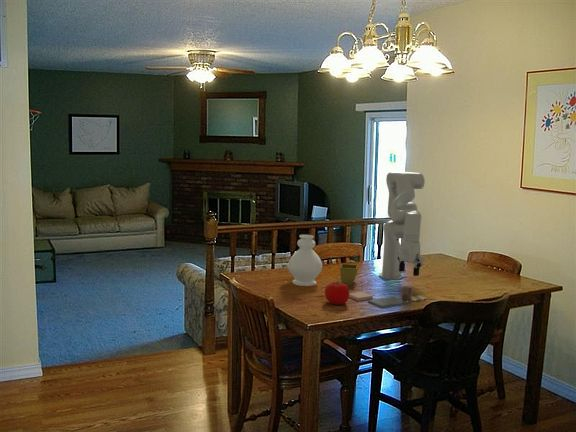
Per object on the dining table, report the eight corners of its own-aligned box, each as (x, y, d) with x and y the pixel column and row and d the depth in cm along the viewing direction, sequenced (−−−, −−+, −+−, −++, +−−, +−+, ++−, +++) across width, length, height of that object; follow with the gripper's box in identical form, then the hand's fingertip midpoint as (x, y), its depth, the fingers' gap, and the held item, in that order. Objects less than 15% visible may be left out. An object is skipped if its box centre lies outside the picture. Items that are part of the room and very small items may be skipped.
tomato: (354, 305, 290) (355, 283, 288) (335, 308, 283) (336, 286, 282) (337, 298, 299) (339, 277, 298) (319, 301, 293) (320, 280, 291)
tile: (362, 291, 308) (347, 293, 304) (372, 295, 301) (357, 297, 297) (362, 295, 308) (347, 297, 304) (372, 299, 302) (357, 301, 297)
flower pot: (355, 285, 325) (356, 268, 324) (338, 283, 327) (339, 267, 325) (357, 281, 334) (358, 265, 332) (340, 279, 335) (341, 263, 334)
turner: (407, 302, 298) (408, 288, 297) (400, 299, 302) (401, 285, 301) (425, 299, 304) (426, 285, 303) (418, 297, 308) (419, 283, 307)
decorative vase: (328, 283, 326) (330, 236, 322) (305, 289, 313) (308, 240, 309) (302, 276, 338) (305, 231, 334) (280, 282, 325) (282, 234, 321)
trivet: (393, 298, 304) (393, 296, 304) (407, 303, 296) (407, 301, 296) (368, 302, 295) (368, 300, 295) (382, 308, 287) (382, 305, 287)
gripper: (393, 235, 301) (390, 270, 303) (418, 241, 287) (416, 278, 289) (404, 234, 305) (402, 269, 307) (430, 240, 291) (427, 276, 293)
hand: (408, 273), depth 298 cm, fingers open, 9 cm apart
